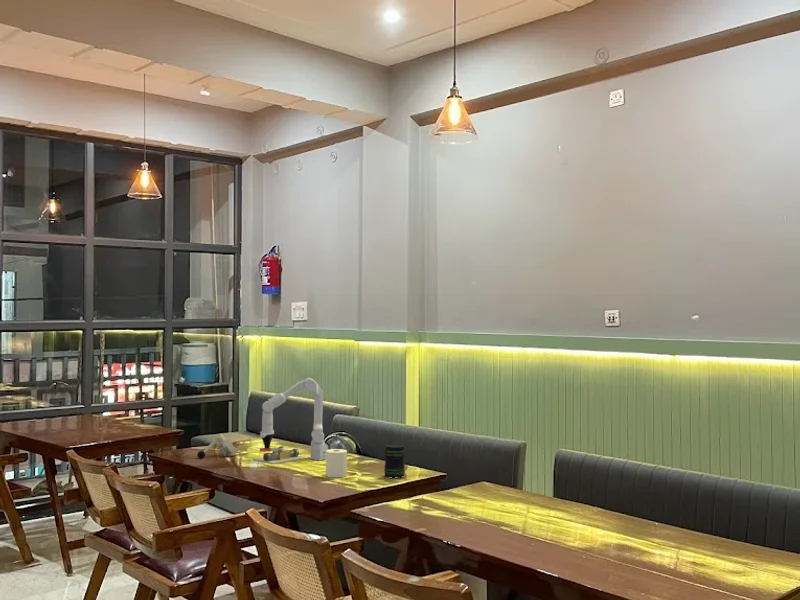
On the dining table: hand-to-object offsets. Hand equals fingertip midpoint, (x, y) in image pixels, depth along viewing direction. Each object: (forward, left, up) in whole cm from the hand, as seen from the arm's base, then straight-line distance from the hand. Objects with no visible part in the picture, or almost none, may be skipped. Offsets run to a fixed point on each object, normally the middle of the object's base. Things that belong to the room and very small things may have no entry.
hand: (267, 449), depth 413 cm
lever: (-3, -2, -1) cm, 4 cm away
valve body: (-5, -6, -6) cm, 10 cm away
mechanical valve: (+24, +15, -6) cm, 29 cm away
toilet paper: (-56, +2, -6) cm, 57 cm away
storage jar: (-77, -17, -6) cm, 79 cm away
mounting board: (-3, -6, -6) cm, 9 cm away
